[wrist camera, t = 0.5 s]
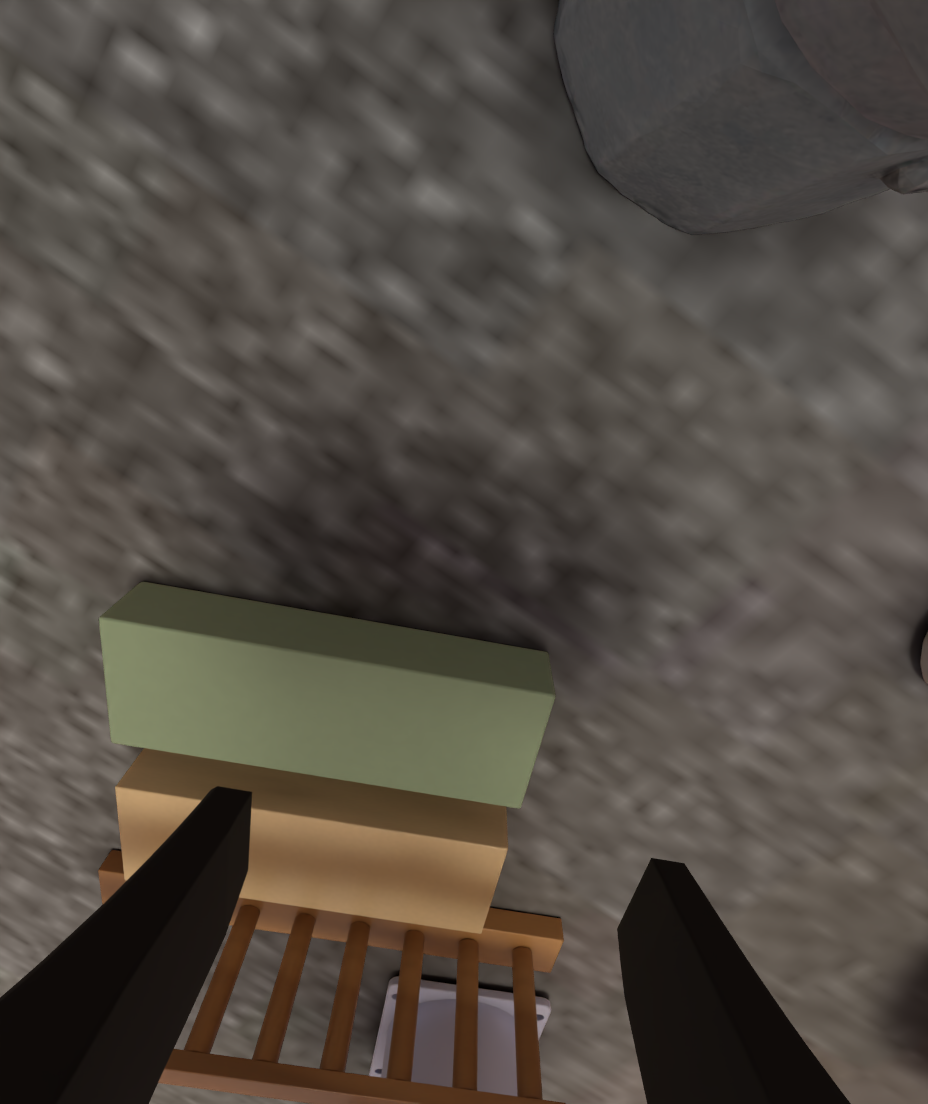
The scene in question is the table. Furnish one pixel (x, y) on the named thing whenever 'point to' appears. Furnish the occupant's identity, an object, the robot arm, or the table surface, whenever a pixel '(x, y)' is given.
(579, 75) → the moka pot
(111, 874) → the plate rack
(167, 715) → the sage board
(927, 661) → the beverage can
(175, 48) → the table surface
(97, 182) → the table surface
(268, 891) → the beech board
